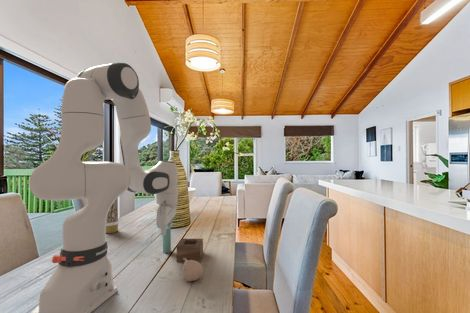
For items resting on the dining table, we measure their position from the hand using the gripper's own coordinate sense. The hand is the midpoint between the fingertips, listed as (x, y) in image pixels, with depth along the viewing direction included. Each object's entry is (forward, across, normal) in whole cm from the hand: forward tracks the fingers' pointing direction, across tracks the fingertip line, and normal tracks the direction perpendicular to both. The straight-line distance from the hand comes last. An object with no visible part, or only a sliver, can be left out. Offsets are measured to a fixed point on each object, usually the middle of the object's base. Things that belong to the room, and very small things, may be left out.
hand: (167, 230), depth 110 cm
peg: (+9, -1, 0) cm, 9 cm away
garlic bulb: (+8, -26, -15) cm, 31 cm away
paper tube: (+11, +29, +37) cm, 49 cm away
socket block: (+8, -7, -11) cm, 16 cm away
